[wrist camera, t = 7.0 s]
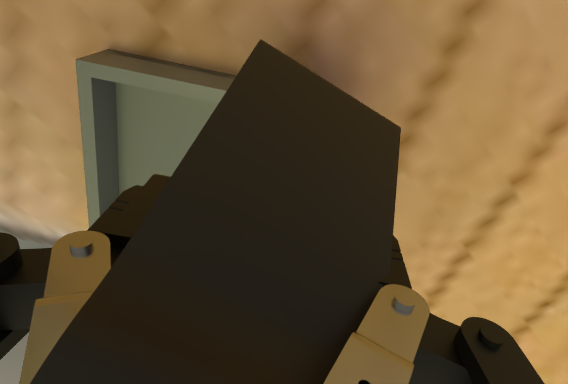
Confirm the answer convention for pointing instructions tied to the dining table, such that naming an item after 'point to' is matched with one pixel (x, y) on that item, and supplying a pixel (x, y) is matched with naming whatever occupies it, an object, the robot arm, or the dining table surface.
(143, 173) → the tray
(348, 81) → the dining table surface
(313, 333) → the phone stand
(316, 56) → the dining table surface
